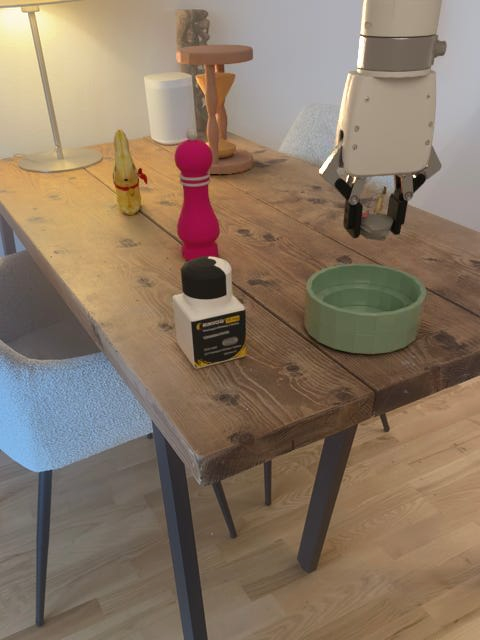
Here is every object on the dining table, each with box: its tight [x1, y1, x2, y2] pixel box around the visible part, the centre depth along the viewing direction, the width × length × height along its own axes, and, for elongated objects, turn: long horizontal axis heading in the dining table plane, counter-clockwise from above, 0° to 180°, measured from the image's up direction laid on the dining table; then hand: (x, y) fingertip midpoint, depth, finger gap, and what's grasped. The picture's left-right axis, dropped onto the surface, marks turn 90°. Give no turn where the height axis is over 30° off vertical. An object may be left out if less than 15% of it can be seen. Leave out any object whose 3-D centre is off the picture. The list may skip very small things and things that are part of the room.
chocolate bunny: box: [112, 129, 148, 216], centre depth 114 cm, size 7×11×15 cm, turn 11°
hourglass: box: [175, 44, 255, 176], centre depth 136 cm, size 18×18×25 cm
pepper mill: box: [174, 128, 221, 261], centre depth 92 cm, size 7×7×20 cm
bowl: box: [303, 262, 428, 355], centre depth 76 cm, size 15×15×6 cm
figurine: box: [360, 185, 393, 242], centre depth 68 cm, size 5×4×6 cm
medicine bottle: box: [171, 256, 247, 370], centre depth 70 cm, size 7×7×12 cm
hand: (372, 231), depth 69 cm, fingers closed on figurine, 4 cm apart
